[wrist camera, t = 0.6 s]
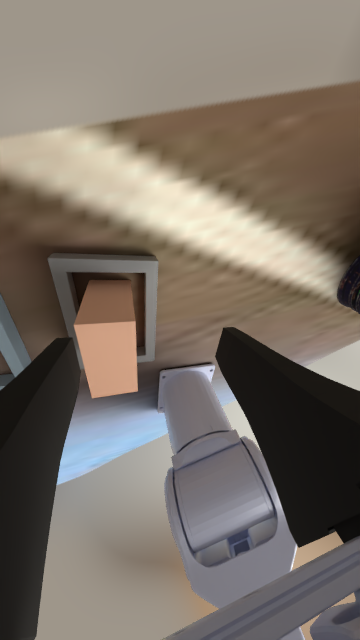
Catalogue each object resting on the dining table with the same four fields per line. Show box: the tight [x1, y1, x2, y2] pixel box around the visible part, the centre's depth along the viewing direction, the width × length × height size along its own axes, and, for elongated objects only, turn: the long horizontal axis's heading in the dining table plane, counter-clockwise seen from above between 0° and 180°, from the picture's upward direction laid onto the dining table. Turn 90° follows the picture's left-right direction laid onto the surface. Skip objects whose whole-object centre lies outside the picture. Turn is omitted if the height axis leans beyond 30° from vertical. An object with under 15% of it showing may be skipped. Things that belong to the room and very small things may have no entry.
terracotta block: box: [74, 280, 138, 398], centre depth 16 cm, size 7×4×7 cm, turn 174°
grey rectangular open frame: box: [47, 253, 158, 369], centre depth 18 cm, size 12×8×2 cm
